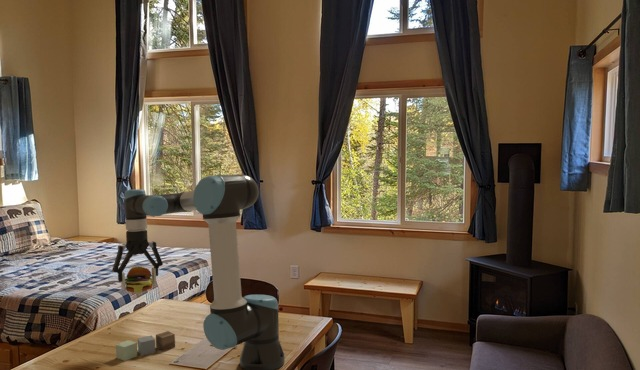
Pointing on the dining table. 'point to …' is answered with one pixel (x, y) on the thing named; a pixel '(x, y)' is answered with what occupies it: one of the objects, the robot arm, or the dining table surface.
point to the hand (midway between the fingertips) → (139, 287)
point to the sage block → (126, 350)
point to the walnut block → (165, 340)
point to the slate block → (146, 345)
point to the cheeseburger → (138, 280)
